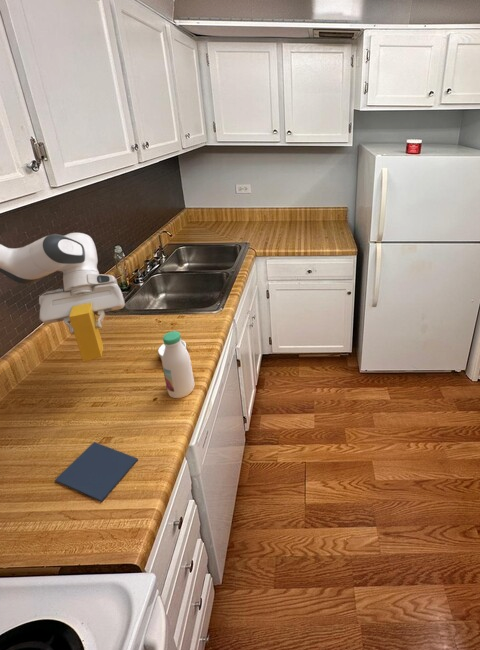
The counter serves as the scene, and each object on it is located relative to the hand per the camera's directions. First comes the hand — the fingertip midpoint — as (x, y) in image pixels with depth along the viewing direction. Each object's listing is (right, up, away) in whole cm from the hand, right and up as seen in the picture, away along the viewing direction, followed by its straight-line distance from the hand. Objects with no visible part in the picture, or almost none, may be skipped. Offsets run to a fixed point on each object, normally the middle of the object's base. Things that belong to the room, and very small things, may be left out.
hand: (86, 330), depth 94 cm
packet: (0, -8, +4) cm, 8 cm away
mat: (+13, -29, -15) cm, 36 cm away
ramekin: (+16, -15, +21) cm, 30 cm away
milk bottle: (+24, -20, +8) cm, 32 cm away
